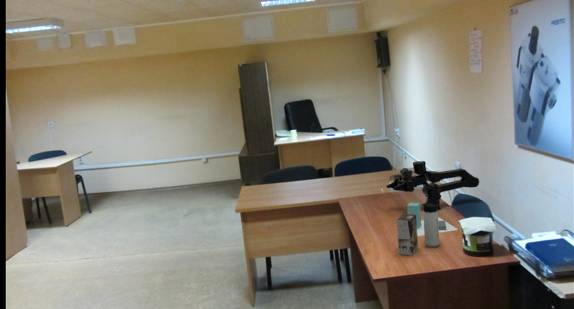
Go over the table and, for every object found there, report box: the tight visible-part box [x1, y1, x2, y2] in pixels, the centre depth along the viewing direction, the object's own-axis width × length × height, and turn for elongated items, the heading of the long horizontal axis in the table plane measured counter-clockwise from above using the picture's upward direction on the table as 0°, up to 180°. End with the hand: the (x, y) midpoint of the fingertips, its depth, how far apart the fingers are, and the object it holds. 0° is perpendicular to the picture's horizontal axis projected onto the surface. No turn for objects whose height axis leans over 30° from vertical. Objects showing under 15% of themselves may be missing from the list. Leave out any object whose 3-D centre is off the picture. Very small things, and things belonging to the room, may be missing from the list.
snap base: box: [438, 220, 446, 230], centre depth 231 cm, size 8×8×2 cm
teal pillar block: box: [406, 202, 422, 229], centre depth 233 cm, size 5×5×12 cm
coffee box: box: [396, 213, 419, 256], centre depth 207 cm, size 9×6×16 cm
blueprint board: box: [417, 217, 459, 237], centre depth 233 cm, size 23×20×1 cm
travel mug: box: [421, 202, 440, 249], centre depth 210 cm, size 6×7×20 cm
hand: (389, 187), depth 255 cm, fingers open, 9 cm apart
